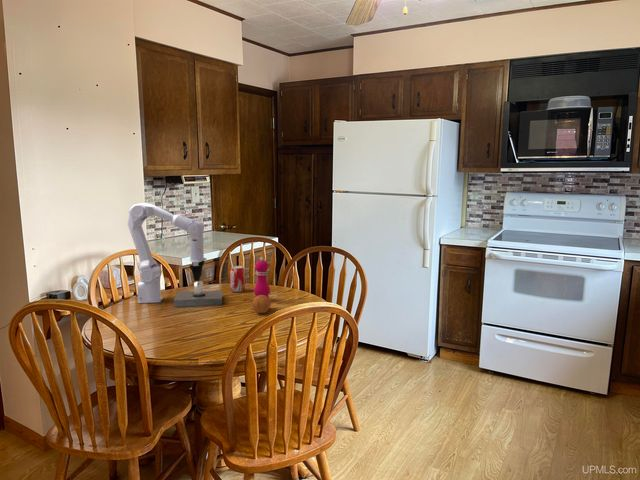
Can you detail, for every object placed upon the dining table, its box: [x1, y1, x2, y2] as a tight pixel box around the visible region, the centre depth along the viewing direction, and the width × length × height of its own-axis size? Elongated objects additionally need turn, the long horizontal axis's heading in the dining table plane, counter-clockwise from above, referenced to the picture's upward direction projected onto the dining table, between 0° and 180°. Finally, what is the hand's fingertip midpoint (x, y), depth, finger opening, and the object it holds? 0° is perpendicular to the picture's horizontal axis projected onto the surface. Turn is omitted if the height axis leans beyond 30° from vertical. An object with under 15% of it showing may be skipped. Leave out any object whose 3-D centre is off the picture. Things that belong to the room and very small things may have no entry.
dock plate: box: [173, 290, 224, 308], centre depth 213 cm, size 20×14×3 cm
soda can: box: [229, 265, 246, 293], centre depth 232 cm, size 7×7×12 cm
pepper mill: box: [253, 256, 271, 299], centre depth 214 cm, size 7×7×20 cm
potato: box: [252, 295, 272, 314], centre depth 199 cm, size 7×13×7 cm, turn 174°
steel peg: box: [193, 280, 204, 297], centre depth 212 cm, size 4×4×9 cm
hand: (197, 278), depth 212 cm, fingers open, 7 cm apart
